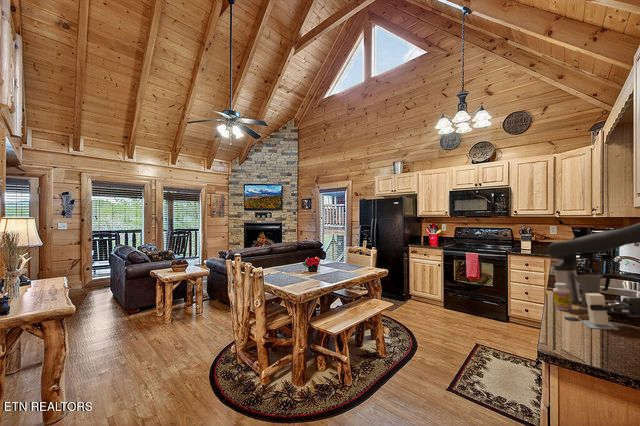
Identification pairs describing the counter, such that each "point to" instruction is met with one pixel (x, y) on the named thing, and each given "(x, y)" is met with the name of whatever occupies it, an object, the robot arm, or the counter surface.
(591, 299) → the block
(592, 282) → the coffeepot
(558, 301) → the supplement bottle
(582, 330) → the counter surface
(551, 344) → the counter surface
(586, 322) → the tile
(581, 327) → the counter surface
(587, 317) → the corral
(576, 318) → the hole
